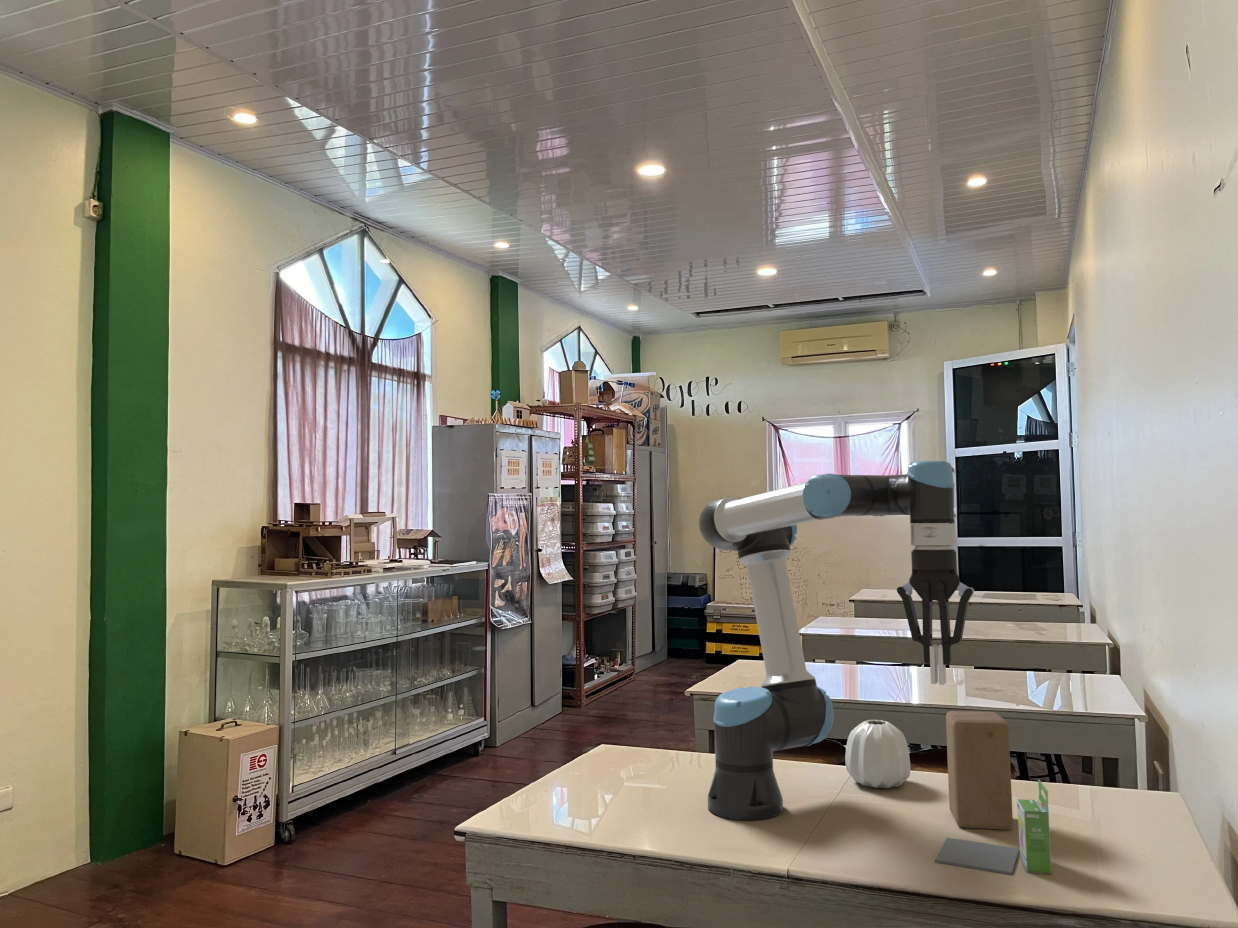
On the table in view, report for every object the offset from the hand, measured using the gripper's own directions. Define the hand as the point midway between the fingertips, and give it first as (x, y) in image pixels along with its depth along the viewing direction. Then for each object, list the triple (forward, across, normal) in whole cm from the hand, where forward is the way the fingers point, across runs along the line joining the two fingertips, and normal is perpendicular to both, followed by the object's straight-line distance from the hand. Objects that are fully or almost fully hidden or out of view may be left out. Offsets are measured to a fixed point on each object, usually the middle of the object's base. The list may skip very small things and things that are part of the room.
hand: (938, 682), depth 156 cm
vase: (+30, -20, +37) cm, 51 cm away
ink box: (+30, +14, +2) cm, 33 cm away
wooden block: (+30, +3, +21) cm, 36 cm away
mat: (+29, +5, +2) cm, 30 cm away
